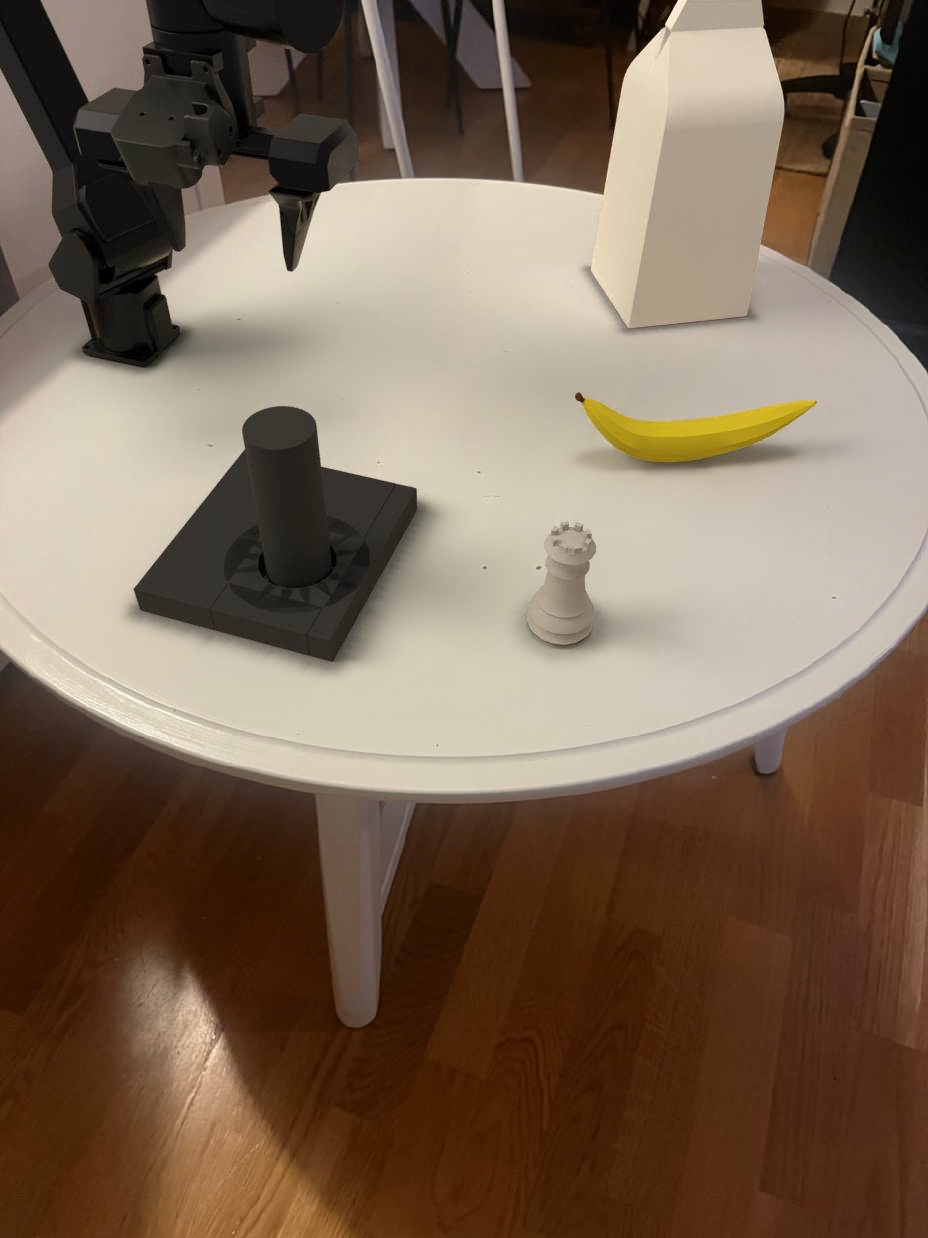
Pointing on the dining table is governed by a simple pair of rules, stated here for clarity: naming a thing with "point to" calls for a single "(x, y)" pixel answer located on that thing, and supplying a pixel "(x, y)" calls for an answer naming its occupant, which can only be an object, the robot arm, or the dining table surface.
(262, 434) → the post
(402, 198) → the dining table surface
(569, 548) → the rook chess piece
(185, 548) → the socket pad
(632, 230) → the milk
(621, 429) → the banana
